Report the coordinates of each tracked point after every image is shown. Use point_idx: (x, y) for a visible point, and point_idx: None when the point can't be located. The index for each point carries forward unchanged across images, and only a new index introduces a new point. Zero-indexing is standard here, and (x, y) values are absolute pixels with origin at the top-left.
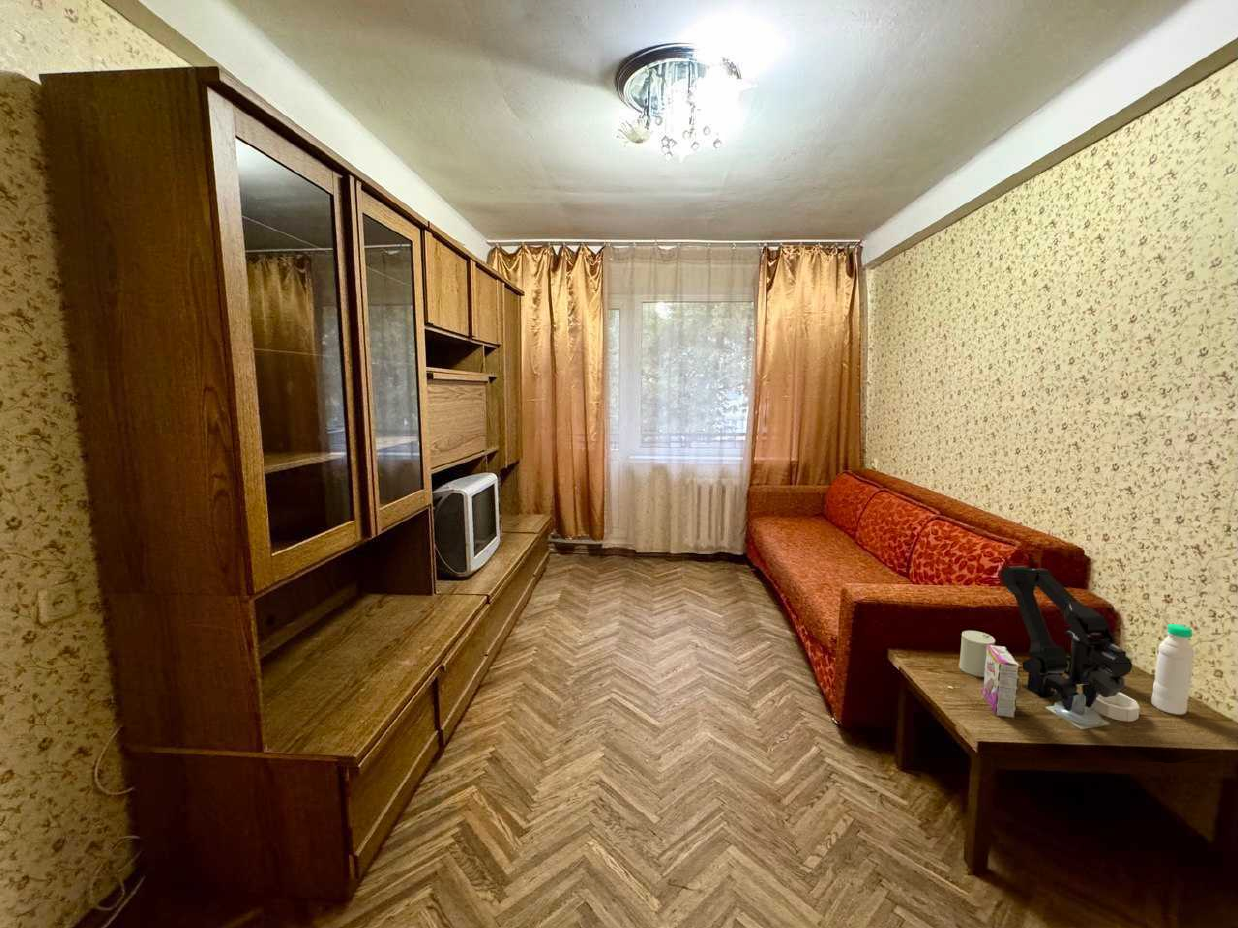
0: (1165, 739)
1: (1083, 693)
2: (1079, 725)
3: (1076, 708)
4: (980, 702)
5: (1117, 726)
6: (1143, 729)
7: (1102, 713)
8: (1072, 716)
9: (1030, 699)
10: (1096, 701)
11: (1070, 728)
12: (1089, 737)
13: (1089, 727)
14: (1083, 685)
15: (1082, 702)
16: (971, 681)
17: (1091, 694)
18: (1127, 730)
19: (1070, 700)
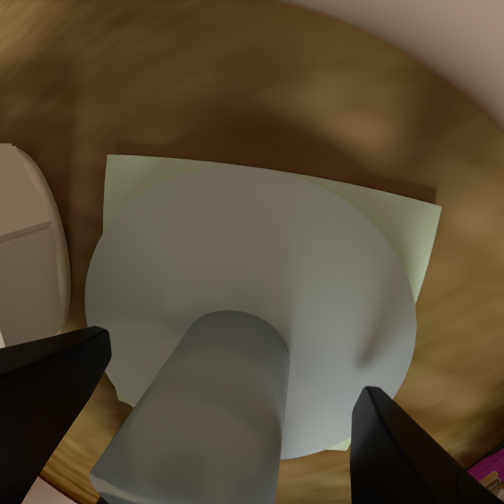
0: (37, 7)
1: (54, 443)
2: (401, 244)
3: (284, 384)
4: None
5: (93, 127)
6: (21, 81)
7: (55, 253)
8: (381, 333)
9: (310, 488)
10: (15, 326)
11: (474, 258)
12: (471, 128)
13: (353, 185)
14: (11, 496)
15: (234, 427)
16: None
17: (4, 410)
18: (88, 78)
19: (471, 487)
